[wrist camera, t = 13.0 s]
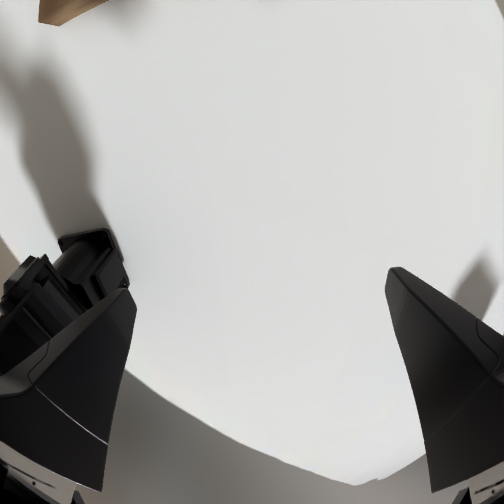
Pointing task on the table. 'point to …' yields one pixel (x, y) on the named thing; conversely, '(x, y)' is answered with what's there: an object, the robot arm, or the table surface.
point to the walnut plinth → (63, 10)
